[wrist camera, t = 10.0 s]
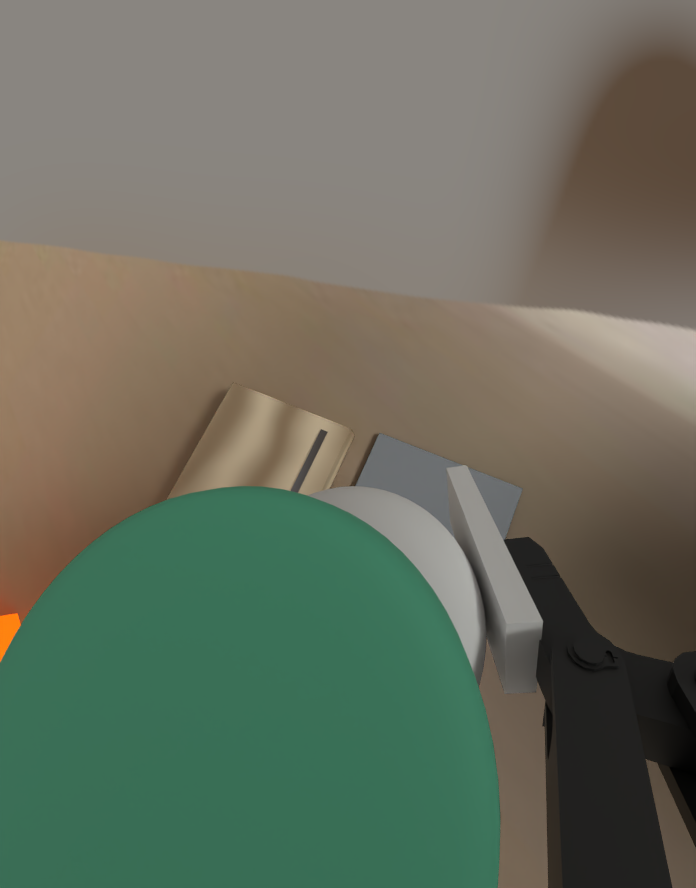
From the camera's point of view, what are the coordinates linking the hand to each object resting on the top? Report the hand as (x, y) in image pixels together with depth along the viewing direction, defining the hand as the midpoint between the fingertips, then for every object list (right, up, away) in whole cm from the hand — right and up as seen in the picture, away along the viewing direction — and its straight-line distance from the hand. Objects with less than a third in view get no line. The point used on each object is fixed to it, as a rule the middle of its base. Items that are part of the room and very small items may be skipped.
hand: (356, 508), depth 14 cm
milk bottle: (+2, -6, +7) cm, 9 cm away
